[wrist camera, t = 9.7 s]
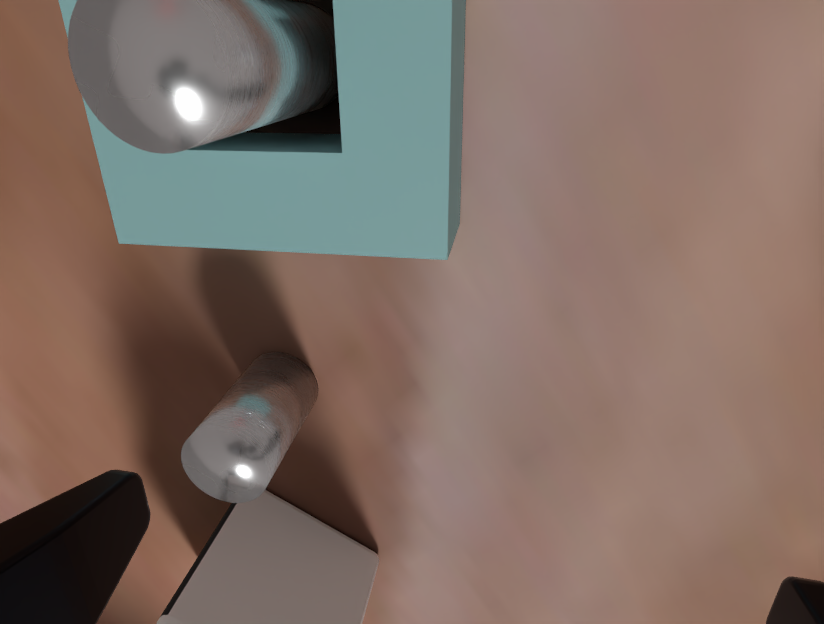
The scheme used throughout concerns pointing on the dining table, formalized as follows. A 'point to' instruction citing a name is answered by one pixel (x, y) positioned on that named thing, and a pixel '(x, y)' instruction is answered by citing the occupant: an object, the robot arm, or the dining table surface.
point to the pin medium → (200, 66)
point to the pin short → (250, 429)
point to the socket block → (320, 154)
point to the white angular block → (274, 571)
